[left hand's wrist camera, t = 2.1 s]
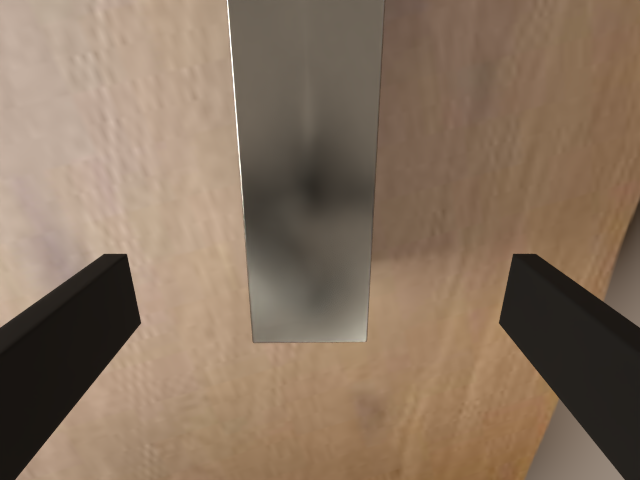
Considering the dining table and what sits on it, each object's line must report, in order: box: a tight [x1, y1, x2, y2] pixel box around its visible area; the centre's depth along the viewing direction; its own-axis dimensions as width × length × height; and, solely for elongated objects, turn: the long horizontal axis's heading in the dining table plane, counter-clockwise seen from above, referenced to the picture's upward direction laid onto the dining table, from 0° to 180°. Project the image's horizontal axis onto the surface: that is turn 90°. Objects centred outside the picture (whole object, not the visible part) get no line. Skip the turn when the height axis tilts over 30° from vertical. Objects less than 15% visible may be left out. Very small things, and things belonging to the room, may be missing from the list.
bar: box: [227, 0, 385, 343], centre depth 16 cm, size 22×5×8 cm, turn 0°
